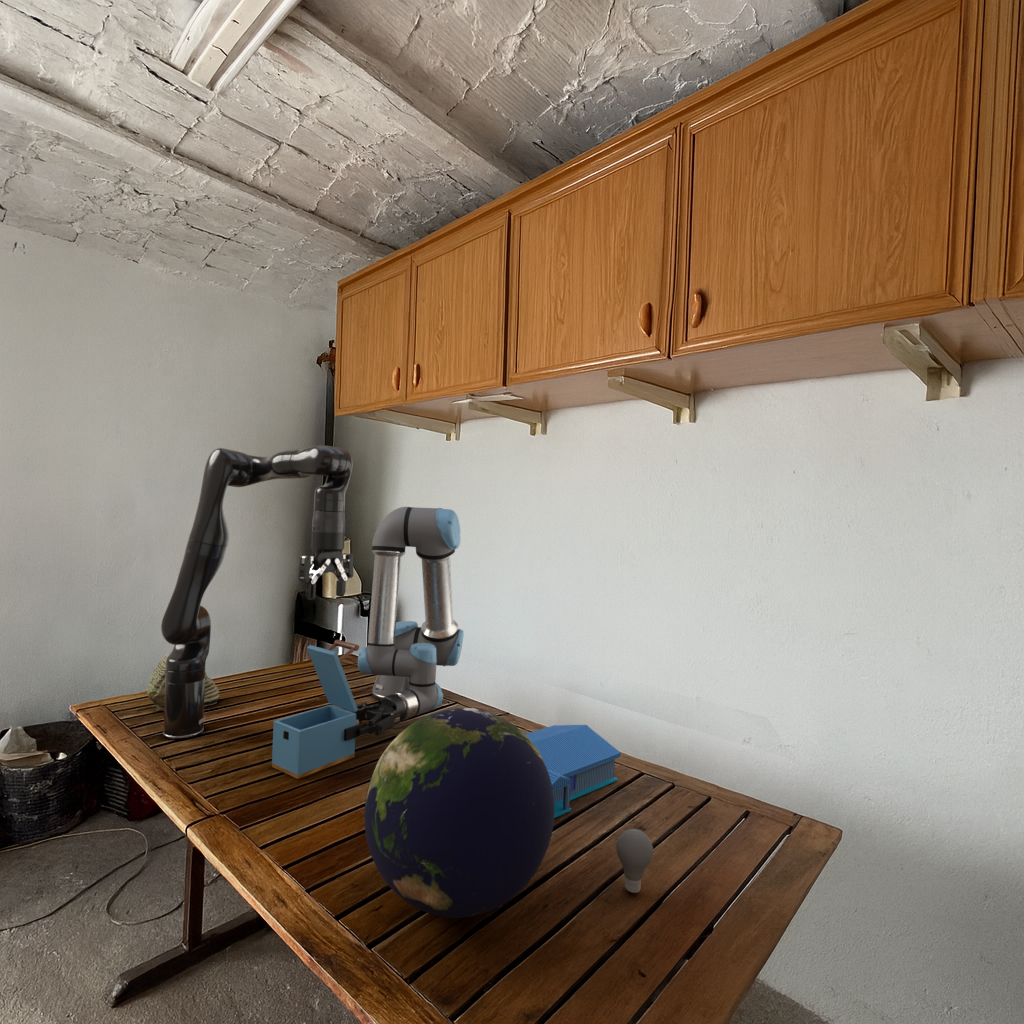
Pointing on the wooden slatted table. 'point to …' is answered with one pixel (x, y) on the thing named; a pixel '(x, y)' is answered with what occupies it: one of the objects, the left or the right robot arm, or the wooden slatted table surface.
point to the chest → (312, 741)
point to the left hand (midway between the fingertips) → (325, 597)
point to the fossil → (158, 687)
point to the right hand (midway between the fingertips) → (330, 729)
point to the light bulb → (634, 857)
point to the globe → (459, 812)
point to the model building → (574, 761)
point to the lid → (334, 674)
